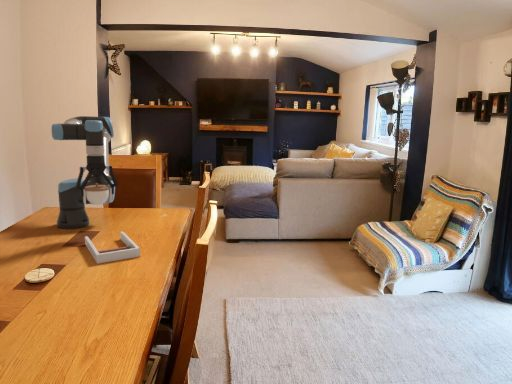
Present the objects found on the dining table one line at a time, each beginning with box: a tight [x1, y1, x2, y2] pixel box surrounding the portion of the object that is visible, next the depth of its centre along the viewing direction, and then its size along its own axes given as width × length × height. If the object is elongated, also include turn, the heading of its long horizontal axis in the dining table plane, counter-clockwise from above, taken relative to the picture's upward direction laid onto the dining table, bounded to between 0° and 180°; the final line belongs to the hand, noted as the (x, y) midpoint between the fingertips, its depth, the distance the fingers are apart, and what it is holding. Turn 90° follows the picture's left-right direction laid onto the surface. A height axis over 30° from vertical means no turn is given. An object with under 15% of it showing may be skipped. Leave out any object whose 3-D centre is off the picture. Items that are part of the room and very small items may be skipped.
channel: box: [84, 231, 141, 265], centre depth 165 cm, size 26×16×4 cm, turn 33°
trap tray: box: [97, 246, 132, 254], centre depth 159 cm, size 8×13×2 cm, turn 123°
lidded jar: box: [85, 183, 110, 206], centre depth 181 cm, size 11×11×9 cm
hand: (97, 202), depth 182 cm, fingers closed on lidded jar, 11 cm apart
